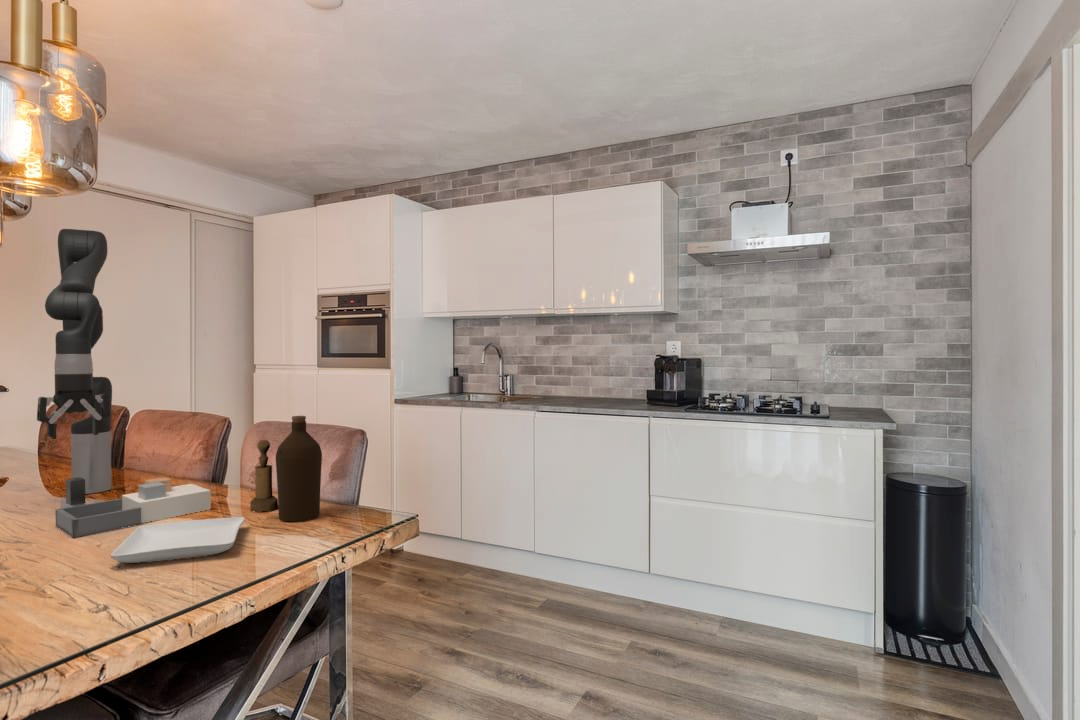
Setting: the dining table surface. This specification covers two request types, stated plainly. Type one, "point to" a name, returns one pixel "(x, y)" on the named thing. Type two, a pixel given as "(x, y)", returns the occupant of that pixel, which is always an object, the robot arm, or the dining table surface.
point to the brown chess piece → (263, 482)
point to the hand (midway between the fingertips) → (74, 436)
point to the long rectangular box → (170, 503)
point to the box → (96, 518)
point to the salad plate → (178, 540)
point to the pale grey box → (151, 491)
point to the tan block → (161, 480)
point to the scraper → (74, 492)
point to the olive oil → (298, 474)
